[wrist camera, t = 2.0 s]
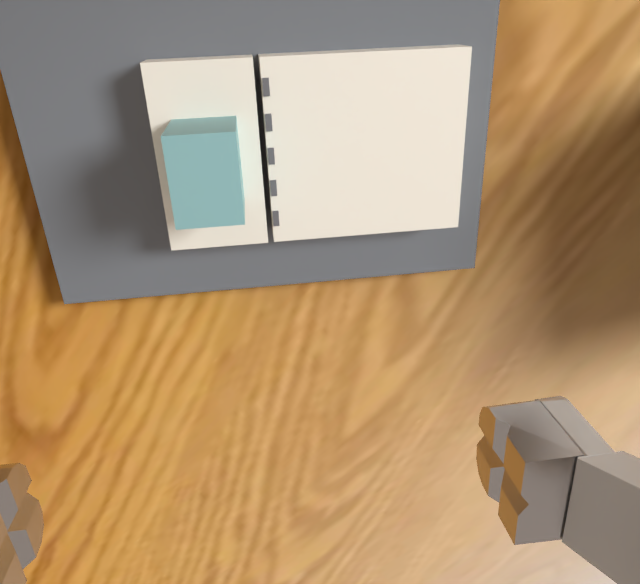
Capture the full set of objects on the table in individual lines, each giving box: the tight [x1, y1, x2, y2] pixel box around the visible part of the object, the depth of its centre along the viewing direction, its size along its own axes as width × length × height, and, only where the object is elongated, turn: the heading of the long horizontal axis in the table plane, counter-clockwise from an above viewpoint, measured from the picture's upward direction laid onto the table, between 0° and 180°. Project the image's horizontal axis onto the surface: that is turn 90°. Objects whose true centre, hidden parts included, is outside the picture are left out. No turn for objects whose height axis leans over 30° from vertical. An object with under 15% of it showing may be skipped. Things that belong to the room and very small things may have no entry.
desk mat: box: [0, 0, 500, 304], centre depth 30 cm, size 16×24×2 cm, turn 92°
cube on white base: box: [140, 54, 268, 251], centre depth 26 cm, size 9×5×6 cm, turn 2°
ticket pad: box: [258, 44, 472, 242], centre depth 29 cm, size 9×10×2 cm
